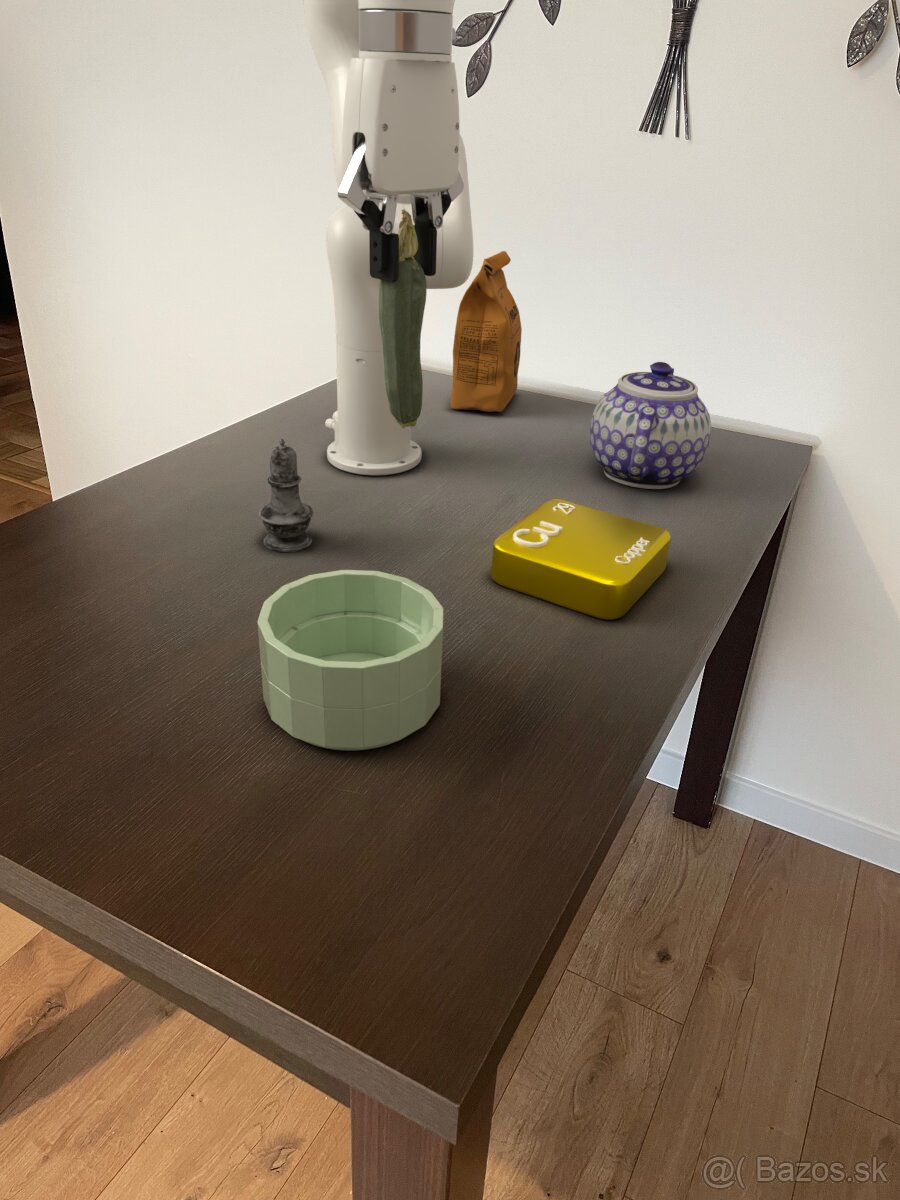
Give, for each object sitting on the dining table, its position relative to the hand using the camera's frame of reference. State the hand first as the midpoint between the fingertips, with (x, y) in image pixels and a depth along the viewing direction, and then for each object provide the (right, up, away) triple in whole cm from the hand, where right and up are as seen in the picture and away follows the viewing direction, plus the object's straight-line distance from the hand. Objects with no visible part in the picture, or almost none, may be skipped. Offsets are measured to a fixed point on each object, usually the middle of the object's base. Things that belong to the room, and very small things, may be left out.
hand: (403, 274), depth 83 cm
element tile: (+18, -27, +15) cm, 36 cm away
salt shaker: (-14, -23, +19) cm, 33 cm away
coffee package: (+10, +1, +61) cm, 62 cm away
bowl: (-4, -38, -5) cm, 38 cm away
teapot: (+30, -13, +39) cm, 51 cm away
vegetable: (-1, -13, +7) cm, 15 cm away
